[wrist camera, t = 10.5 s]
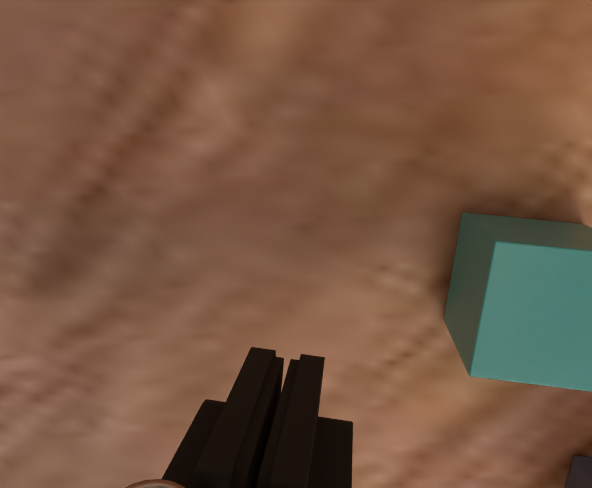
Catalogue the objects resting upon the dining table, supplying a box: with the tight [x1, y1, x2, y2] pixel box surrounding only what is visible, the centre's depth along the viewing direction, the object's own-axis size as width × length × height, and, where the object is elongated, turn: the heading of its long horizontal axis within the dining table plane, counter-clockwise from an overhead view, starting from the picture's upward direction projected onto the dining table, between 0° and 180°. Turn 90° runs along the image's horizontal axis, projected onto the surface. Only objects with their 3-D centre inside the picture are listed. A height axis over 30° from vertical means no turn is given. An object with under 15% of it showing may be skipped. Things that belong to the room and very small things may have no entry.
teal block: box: [444, 212, 592, 392], centre depth 19 cm, size 5×5×5 cm
